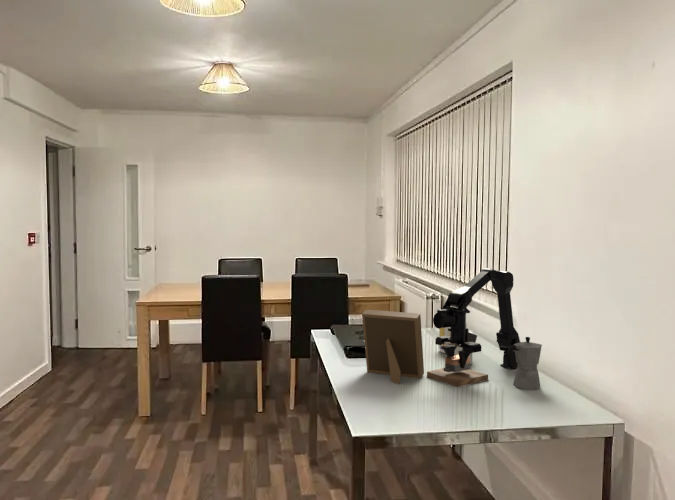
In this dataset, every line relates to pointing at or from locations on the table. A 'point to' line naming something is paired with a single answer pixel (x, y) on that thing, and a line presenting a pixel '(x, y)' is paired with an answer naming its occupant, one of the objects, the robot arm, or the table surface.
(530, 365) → the coffeepot
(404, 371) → the photo frame
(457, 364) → the block
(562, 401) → the table surface
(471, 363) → the supplement box
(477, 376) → the walnut stand
